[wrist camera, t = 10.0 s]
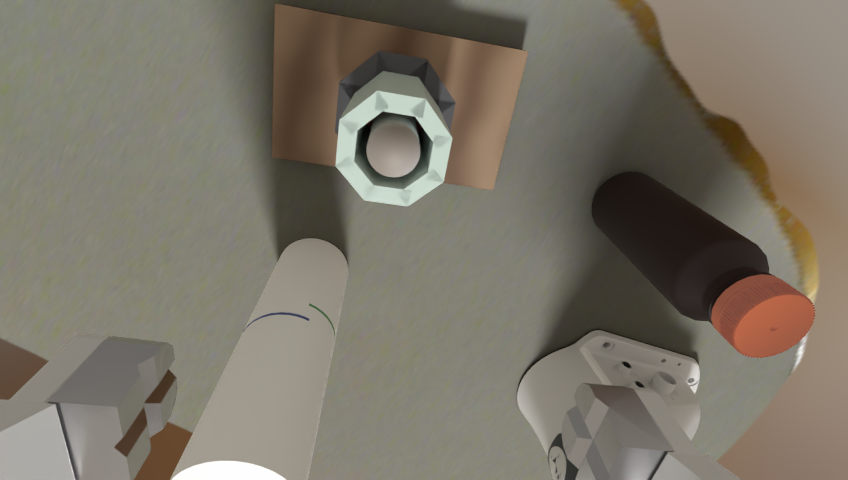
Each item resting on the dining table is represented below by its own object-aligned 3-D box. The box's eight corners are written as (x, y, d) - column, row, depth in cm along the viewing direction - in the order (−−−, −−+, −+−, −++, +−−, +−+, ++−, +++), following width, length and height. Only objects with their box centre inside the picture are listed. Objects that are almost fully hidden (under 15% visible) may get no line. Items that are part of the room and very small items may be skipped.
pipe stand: (522, 49, 38) (598, 70, 23) (489, 182, 43) (534, 265, 28) (281, 4, 35) (200, -5, 21) (277, 151, 40) (210, 224, 26)
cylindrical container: (288, 228, 44) (174, 447, 22) (357, 251, 45) (317, 477, 23) (271, 286, 47) (155, 531, 24) (336, 305, 48) (283, 552, 26)
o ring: (460, 64, 33) (463, 66, 32) (439, 174, 37) (440, 180, 35) (344, 43, 32) (341, 44, 31) (334, 158, 36) (332, 164, 34)
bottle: (585, 234, 46) (704, 373, 28) (595, 172, 43) (735, 282, 25) (650, 231, 46) (808, 366, 28) (663, 168, 43) (851, 276, 25)
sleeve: (443, 81, 32) (459, 104, 24) (428, 163, 35) (438, 210, 26) (357, 66, 31) (342, 84, 23) (349, 151, 34) (332, 196, 26)
